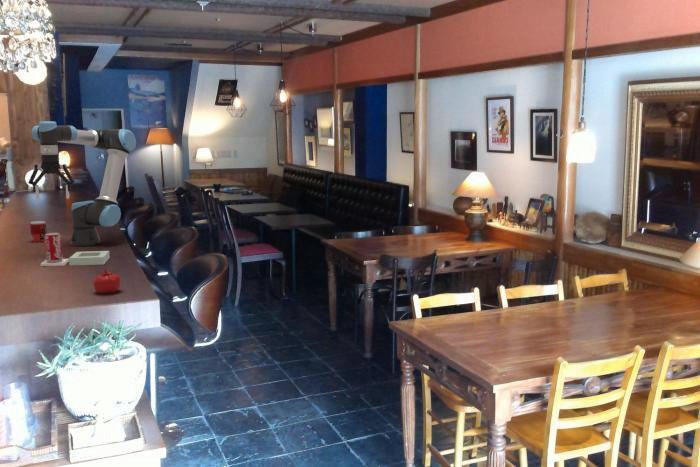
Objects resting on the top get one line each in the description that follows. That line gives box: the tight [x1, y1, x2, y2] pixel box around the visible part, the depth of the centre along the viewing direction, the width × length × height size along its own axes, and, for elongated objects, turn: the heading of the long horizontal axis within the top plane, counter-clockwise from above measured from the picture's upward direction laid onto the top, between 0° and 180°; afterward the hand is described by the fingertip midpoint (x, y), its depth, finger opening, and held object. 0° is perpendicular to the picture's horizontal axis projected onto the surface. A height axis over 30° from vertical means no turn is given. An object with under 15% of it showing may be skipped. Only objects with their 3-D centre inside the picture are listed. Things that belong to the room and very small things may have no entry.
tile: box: [40, 258, 69, 267], centre depth 297 cm, size 10×10×1 cm
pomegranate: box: [92, 268, 122, 295], centre depth 247 cm, size 10×10×9 cm
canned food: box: [29, 220, 48, 243], centre depth 350 cm, size 8×8×11 cm
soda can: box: [44, 232, 64, 262], centre depth 295 cm, size 7×7×13 cm
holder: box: [68, 250, 111, 267], centre depth 301 cm, size 15×15×4 cm
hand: (53, 198), depth 307 cm, fingers open, 13 cm apart
